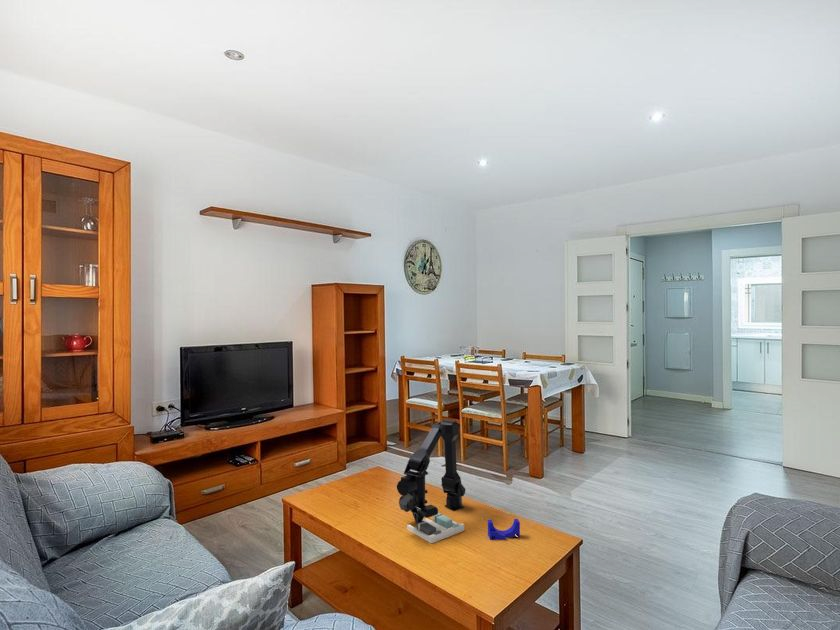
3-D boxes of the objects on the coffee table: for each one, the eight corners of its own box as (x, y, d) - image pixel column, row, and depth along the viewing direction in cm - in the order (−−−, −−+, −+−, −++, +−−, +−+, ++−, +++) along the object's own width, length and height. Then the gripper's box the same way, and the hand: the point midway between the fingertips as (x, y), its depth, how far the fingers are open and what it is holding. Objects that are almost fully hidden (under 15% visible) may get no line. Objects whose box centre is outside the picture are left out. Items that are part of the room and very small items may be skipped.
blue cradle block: (490, 540, 181) (489, 524, 181) (487, 534, 186) (487, 519, 186) (520, 539, 182) (520, 523, 182) (517, 534, 187) (517, 518, 187)
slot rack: (439, 517, 201) (439, 510, 201) (464, 530, 189) (464, 522, 189) (406, 529, 191) (406, 521, 191) (431, 543, 179) (431, 535, 179)
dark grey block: (423, 529, 191) (423, 520, 191) (436, 536, 184) (436, 527, 184) (416, 531, 189) (416, 522, 189) (428, 539, 182) (428, 530, 182)
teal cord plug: (439, 521, 198) (439, 512, 198) (452, 528, 192) (452, 519, 192) (433, 523, 196) (433, 515, 196) (445, 530, 189) (445, 521, 189)
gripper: (388, 485, 193) (388, 523, 193) (416, 499, 178) (416, 541, 179) (410, 479, 200) (410, 516, 200) (438, 492, 185) (439, 532, 185)
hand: (418, 526), depth 191 cm, fingers closed
